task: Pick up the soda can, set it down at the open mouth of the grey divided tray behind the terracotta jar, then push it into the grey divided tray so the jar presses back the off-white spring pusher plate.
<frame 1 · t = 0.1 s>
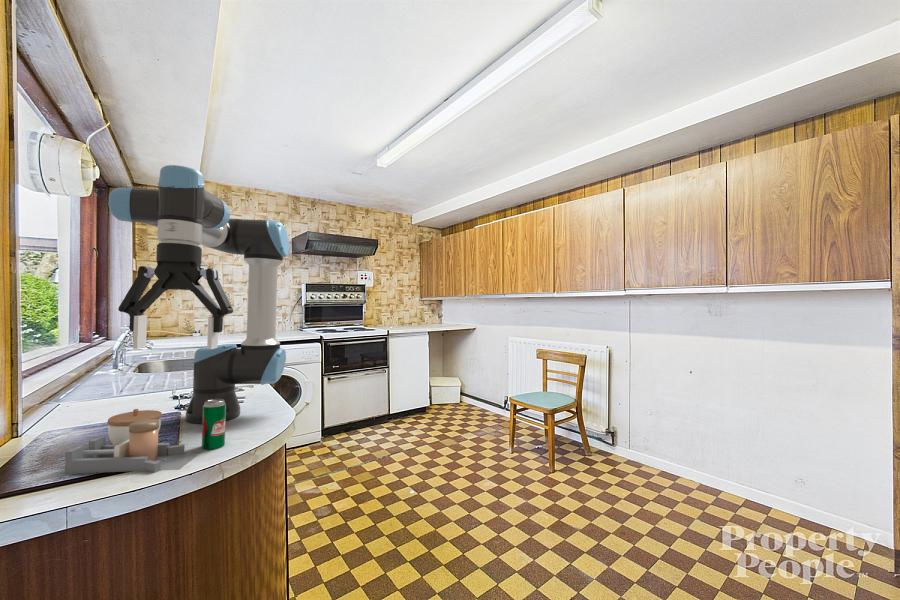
hand: (176, 348, 77), 28 cm above the counter, tool pointing down, fingers open, 13 cm apart
lidded jar: (134, 446, 98), on the counter
jar: (143, 462, 87), resting on grey divided tray
grey divided tray: (138, 464, 87), on the counter
pusher: (101, 452, 86), point 3 cm above the counter, slide at 0.0 cm
soda can: (213, 448, 98), on the counter
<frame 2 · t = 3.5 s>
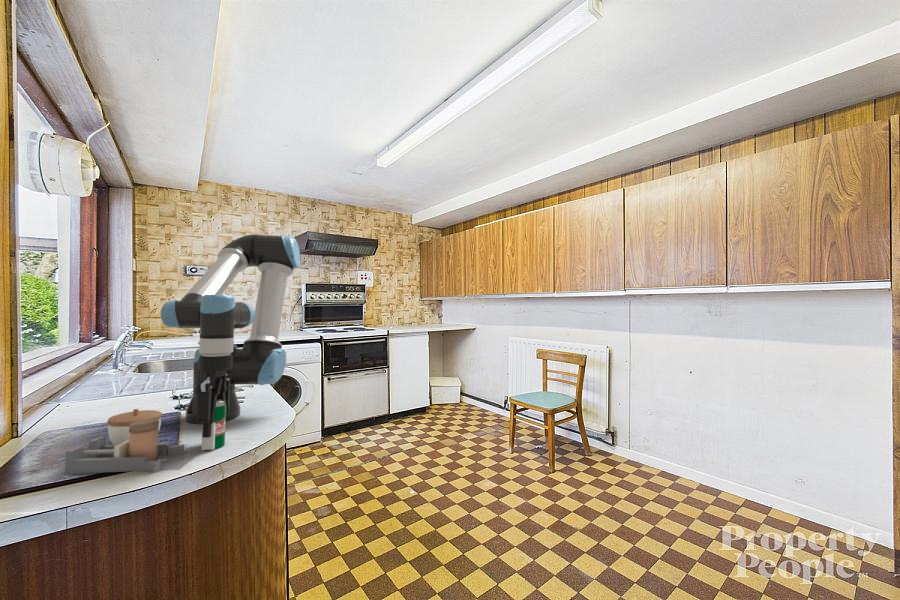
hand: (213, 444, 98), 1 cm above the counter, tool pointing down, fingers closed on soda can, 5 cm apart
soda can: (213, 448, 98), on the counter, touching gripper
everything else where it was.
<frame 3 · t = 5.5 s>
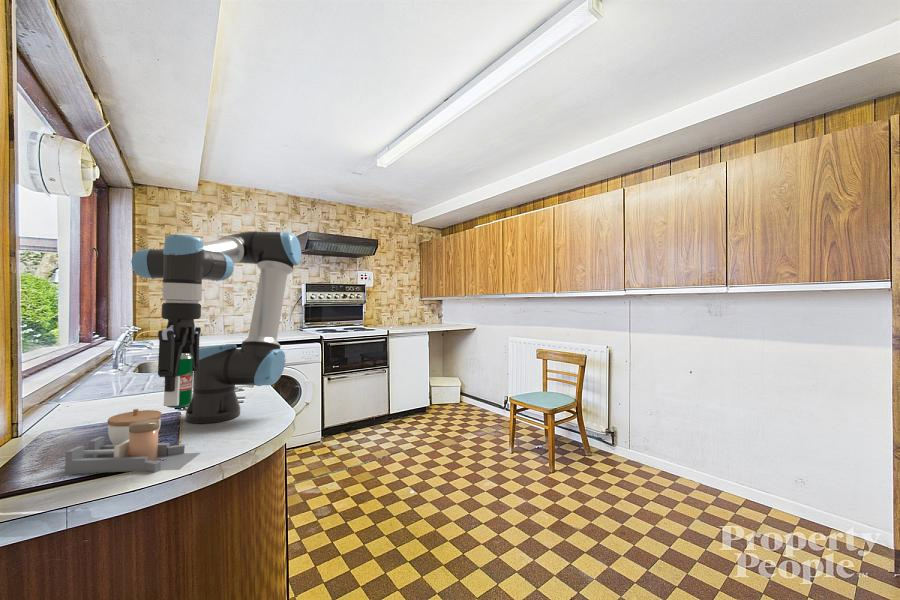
hand: (178, 402, 88), 14 cm above the counter, tool pointing down, fingers closed on soda can, 5 cm apart
soda can: (178, 406, 88), point 13 cm above the counter, touching gripper
everything else where it was.
when the fingers open (3 cm above the counter, at t = 7.7 s): soda can drops 1 cm, resting on grey divided tray.
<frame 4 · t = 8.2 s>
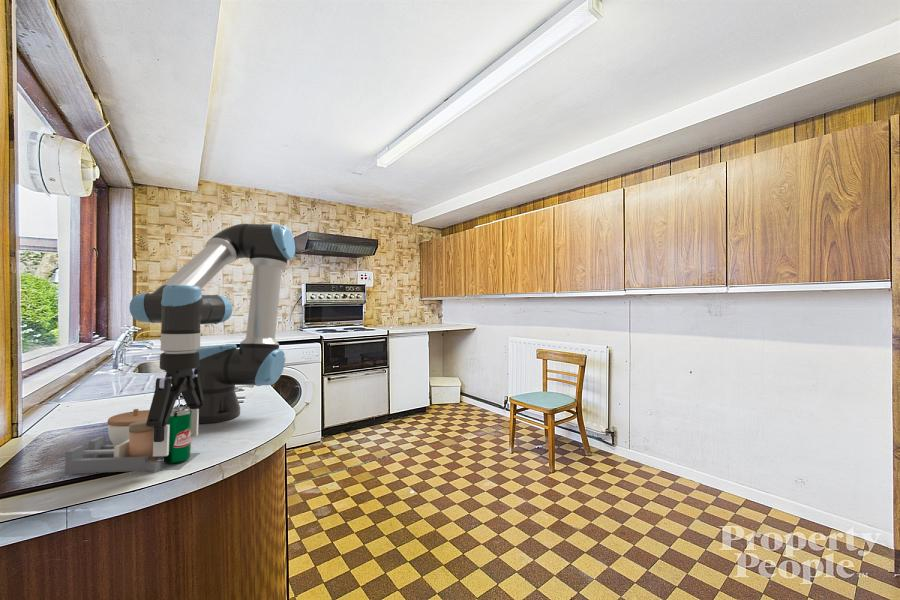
hand: (177, 445, 88), 4 cm above the counter, tool pointing down, fingers open, 12 cm apart
soda can: (177, 461, 88), resting on grey divided tray
everything else where it was.
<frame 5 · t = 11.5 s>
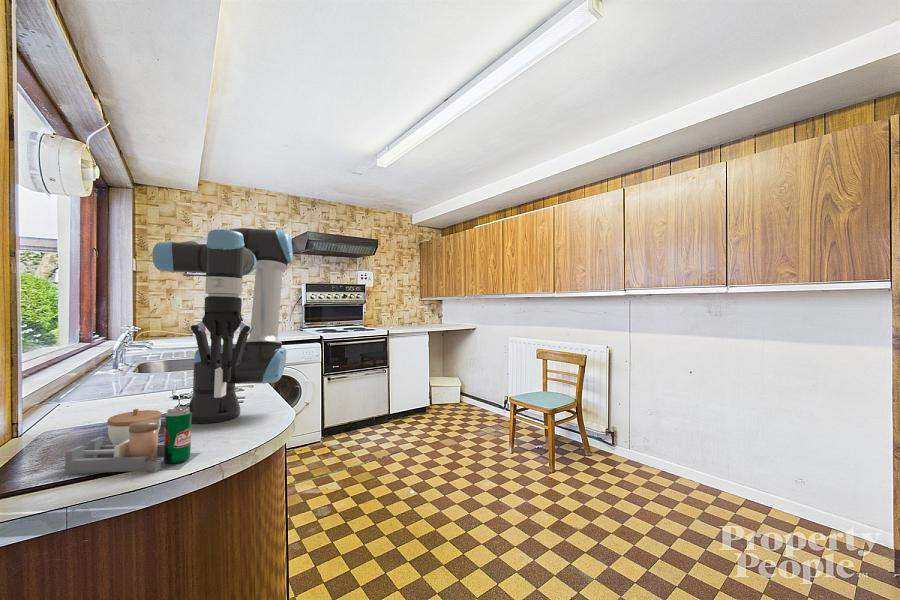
hand: (220, 396, 89), 15 cm above the counter, tool pointing down, fingers closed
nothing on the counter moved.
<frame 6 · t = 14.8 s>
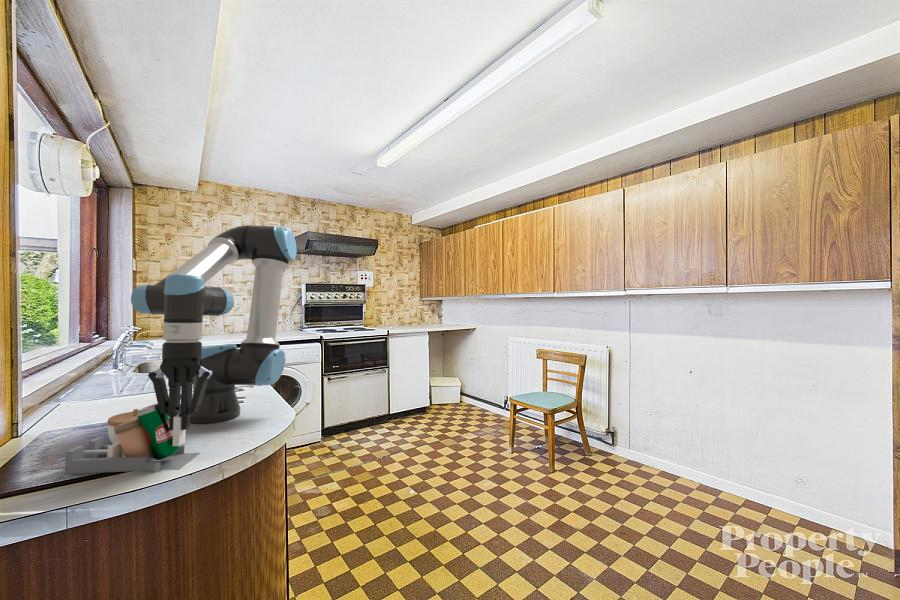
hand: (178, 443, 88), 5 cm above the counter, tool pointing down, fingers closed
jar: (142, 458, 87), point 1 cm above the counter, tilted 19°, touching grey divided tray, soda can
pusher: (95, 452, 86), point 3 cm above the counter, slide at 1.3 cm
soda can: (168, 455, 88), point 2 cm above the counter, touching gripper, hand, jar
everything else where it was.
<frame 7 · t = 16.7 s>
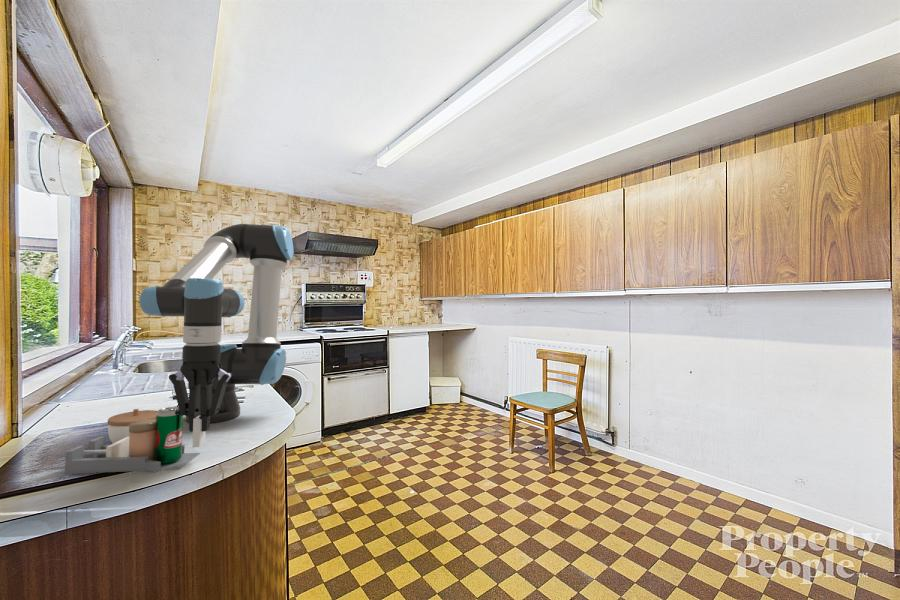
hand: (198, 445, 89), 4 cm above the counter, tool pointing down, fingers closed
jar: (143, 462, 87), resting on grey divided tray
soda can: (168, 462, 88), resting on grey divided tray
everything else where it was.
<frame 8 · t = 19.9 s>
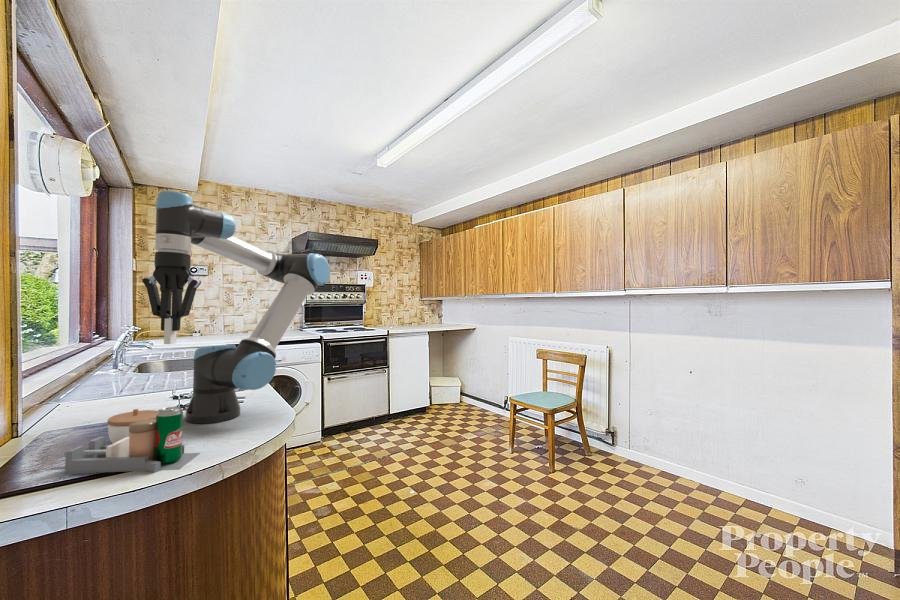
hand: (170, 343, 98), 26 cm above the counter, tool pointing down, fingers closed
jar: (143, 462, 87), resting on grey divided tray, touching soda can
soda can: (168, 462, 88), resting on grey divided tray, touching jar
everything else where it was.
at the end: soda can inside the target area on the grey divided tray (2.2 cm from its centre), point 0.2 cm above the grey divided tray's base; soda can tilted 0°; soda can 5.2 cm from the jar (horizontally) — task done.
